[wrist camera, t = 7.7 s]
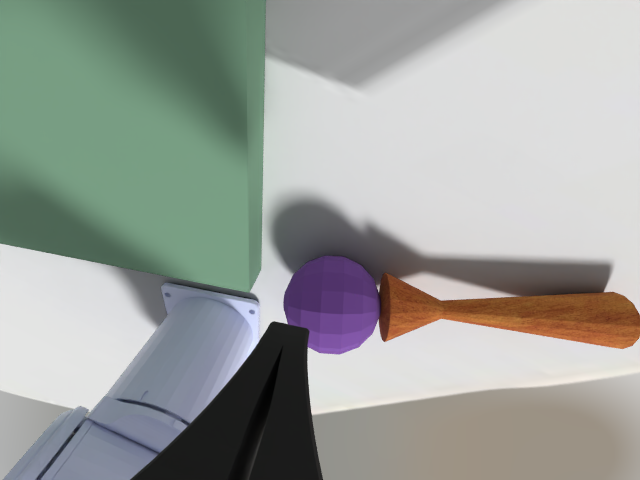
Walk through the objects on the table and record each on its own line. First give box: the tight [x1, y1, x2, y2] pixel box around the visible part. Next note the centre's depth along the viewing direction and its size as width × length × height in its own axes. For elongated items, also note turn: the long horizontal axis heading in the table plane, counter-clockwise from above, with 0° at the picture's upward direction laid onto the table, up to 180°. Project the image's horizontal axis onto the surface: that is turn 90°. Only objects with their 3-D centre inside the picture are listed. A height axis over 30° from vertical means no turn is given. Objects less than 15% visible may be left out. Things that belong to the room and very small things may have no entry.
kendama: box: [284, 256, 640, 354], centre depth 18 cm, size 6×6×20 cm
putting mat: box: [0, 0, 266, 293], centre depth 17 cm, size 16×24×2 cm, turn 83°
